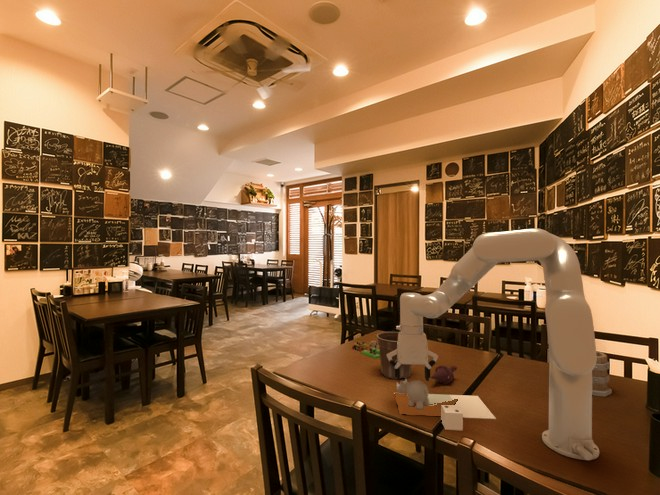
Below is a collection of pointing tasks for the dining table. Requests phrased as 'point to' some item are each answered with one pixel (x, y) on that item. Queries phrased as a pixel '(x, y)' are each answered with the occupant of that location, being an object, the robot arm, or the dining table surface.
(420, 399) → the round bodied animal figurine
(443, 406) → the die
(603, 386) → the tankard
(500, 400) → the dining table surface
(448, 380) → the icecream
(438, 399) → the game mat
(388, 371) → the plant pot
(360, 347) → the toy garden set
